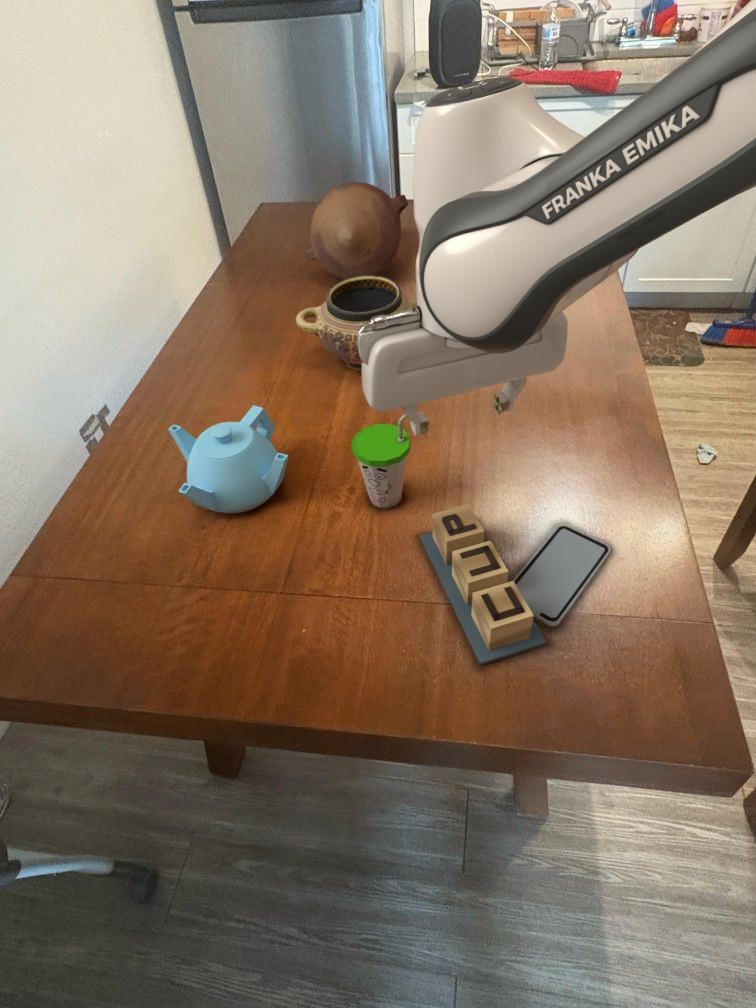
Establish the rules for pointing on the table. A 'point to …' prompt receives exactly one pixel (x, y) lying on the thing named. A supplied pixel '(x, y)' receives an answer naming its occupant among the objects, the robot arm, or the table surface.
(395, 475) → the cup
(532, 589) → the smartphone
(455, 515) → the tile
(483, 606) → the tile
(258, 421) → the teapot
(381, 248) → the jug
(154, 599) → the table surface
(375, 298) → the ceramic bowl
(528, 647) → the mat
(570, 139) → the robot arm
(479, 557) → the tile
